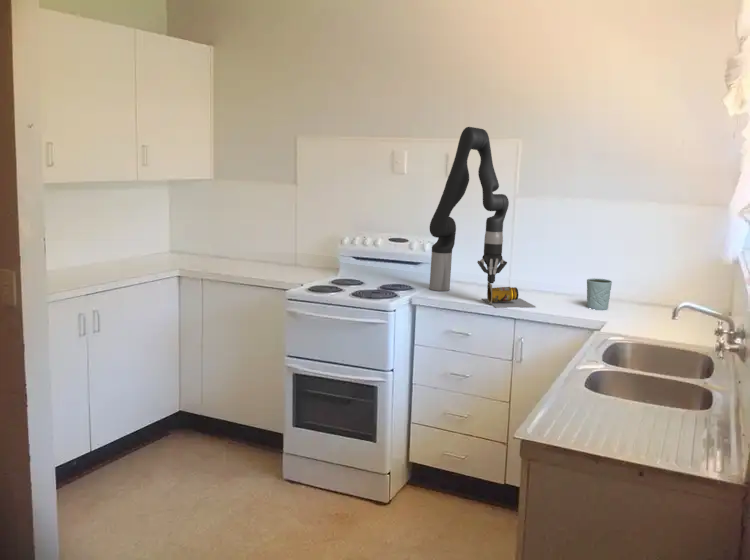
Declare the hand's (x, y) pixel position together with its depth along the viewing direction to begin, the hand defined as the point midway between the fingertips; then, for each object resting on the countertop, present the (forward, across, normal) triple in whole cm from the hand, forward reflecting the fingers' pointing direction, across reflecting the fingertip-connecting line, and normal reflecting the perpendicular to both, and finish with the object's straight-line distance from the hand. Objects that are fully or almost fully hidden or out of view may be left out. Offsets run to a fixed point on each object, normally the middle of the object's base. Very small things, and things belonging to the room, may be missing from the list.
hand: (490, 283), depth 319 cm
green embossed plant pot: (+10, -45, +10) cm, 47 cm away
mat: (+9, -9, 0) cm, 12 cm away
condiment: (+4, +1, 0) cm, 4 cm away
